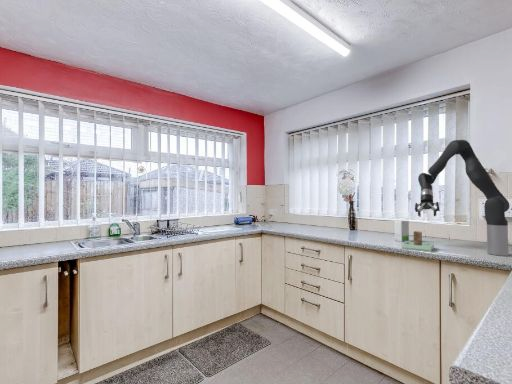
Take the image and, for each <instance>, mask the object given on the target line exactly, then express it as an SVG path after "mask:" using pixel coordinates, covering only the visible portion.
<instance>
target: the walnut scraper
mask: <svg viewBox="0 0 512 384" xmlns="http://www.w3.org/2000/svg"><path fill="white" fill-rule="evenodd" d="M422 234H423V233H422V231H413V242H414V245H420V246H422V243H423V238H422V237H423V235H422Z"/></svg>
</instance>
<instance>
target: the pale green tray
mask: <svg viewBox="0 0 512 384" xmlns="http://www.w3.org/2000/svg"><path fill="white" fill-rule="evenodd" d="M401 249H402V250H403V249H404V250H411V251H412V250H413V251H421V252H429V251H430V253H431V252H432V251H433V250H434V249H435V243H430V242H422V246H420V245H414V241H410V240H409V241H406V242H403V243H402V242H401Z"/></svg>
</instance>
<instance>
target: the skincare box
mask: <svg viewBox="0 0 512 384" xmlns="http://www.w3.org/2000/svg"><path fill="white" fill-rule="evenodd" d="M409 223H410V222H409V220H399V219H398V220H394V241H395V242H401V243H402V242H403V243H404V242H406V241H410V227H409V225H410V224H409Z"/></svg>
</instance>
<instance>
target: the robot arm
mask: <svg viewBox="0 0 512 384" xmlns="http://www.w3.org/2000/svg"><path fill="white" fill-rule="evenodd" d="M456 155H460V157H461V158H462V160H463V161H464V164H465V173H466V176H467V177H468V179H469V180H470V182H471V183H472V184H473V185H474V186H475V188H477V189H478V190H479V191H481V193H482V194H483V195H484V197H485V198H486V200H485V202H484V205H483V206H484V219H485V221H486V254H488V255H493V256H500V257H501V256H502V257H505V256H506V257H509V255H510V254H509V252H510V250H509V226H508V225H509V224H508V223H509V222H508V220H507V218H506V214H505V213H506V212H507V211H509V209H510V202H509V201H508V199H507V198H506V197H505V195H503V193H502V192H501V191H500V189H498V188H497V186H496V184H495V183H494V181H493V179H492V178H491V176H490V175H489V173H488V171H487V170H486V168H485V167H484V166H483V165H482V163H481V161H480V160H479V157H477V155H476V153H475V151H474V150H473V147H472V146H471V143H470V142H469V141H468V140H466V139H455V140H452V141H450V142H449V143H448V145H447V146H446V147H445V148H444V150H443V152H441V155H440V156H439V157H438V158H437V160H436V161H435V162H434V163H433V164H432V165H431V166H430V167H429V168H428V170H427V173H426V172H421V173H420V174H419V175H418V180H417V181H418V184H419V186H420V203H417V202H415V204H414V211H415V213H417V216H418V217H419V218H420V217H421V216H422V214H421V212H422V211H424V210H431V211H433V216H434V217H436V216H437V212H439V211H440V203H439V201H436V202H434V192H433V184H434V183H435V181H436V180H437V178H438V176H439V174H441V172H443V171H444V169H445V168H446V167H447V164H448V161H449V160H450V159H451V158H452V157H454V156H456ZM421 218H422V217H421Z"/></svg>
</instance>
